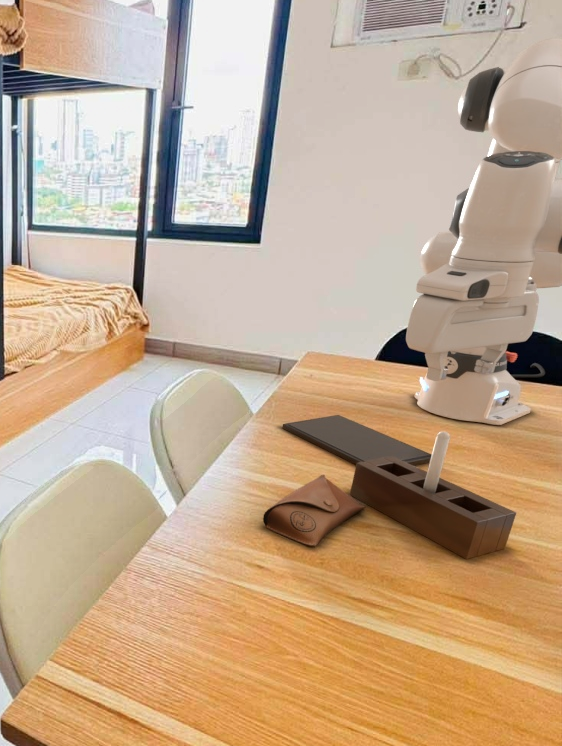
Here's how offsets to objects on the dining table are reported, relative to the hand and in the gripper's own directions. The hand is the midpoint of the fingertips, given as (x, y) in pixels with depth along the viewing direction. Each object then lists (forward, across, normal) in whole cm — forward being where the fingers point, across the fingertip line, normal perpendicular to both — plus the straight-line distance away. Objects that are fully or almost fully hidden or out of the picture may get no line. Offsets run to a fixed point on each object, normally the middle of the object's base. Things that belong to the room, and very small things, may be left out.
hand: (459, 376), depth 90 cm
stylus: (+24, 0, 0) cm, 24 cm away
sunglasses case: (+24, +15, -6) cm, 29 cm away
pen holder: (+24, 0, 0) cm, 24 cm away
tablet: (+24, -14, -25) cm, 37 cm away
